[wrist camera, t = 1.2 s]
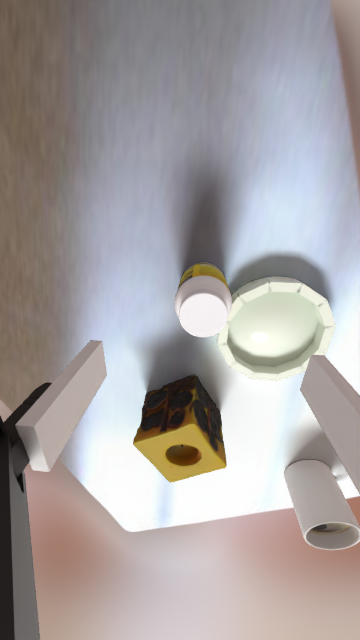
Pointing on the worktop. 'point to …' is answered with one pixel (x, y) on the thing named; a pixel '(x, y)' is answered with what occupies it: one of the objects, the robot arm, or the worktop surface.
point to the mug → (321, 506)
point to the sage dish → (275, 328)
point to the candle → (181, 430)
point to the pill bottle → (203, 300)
